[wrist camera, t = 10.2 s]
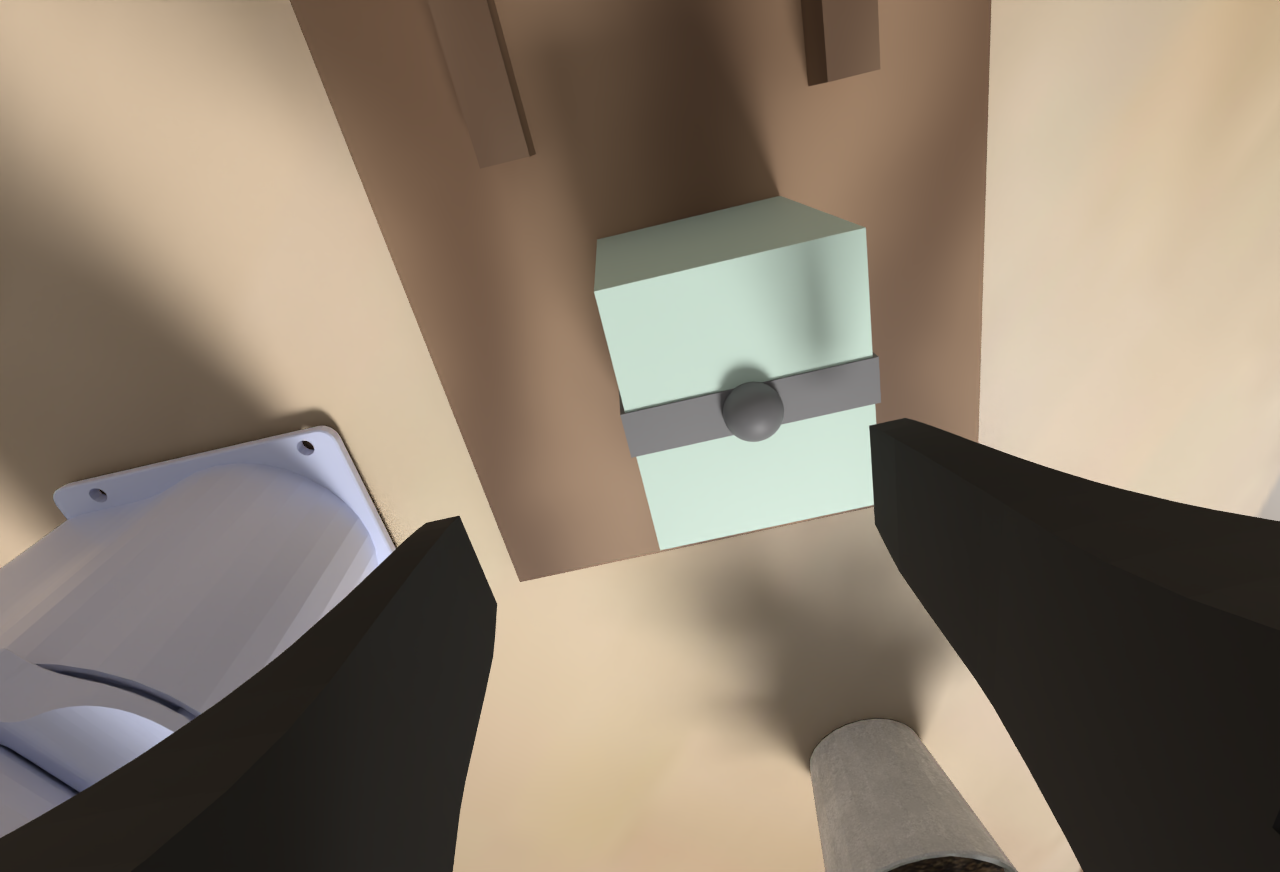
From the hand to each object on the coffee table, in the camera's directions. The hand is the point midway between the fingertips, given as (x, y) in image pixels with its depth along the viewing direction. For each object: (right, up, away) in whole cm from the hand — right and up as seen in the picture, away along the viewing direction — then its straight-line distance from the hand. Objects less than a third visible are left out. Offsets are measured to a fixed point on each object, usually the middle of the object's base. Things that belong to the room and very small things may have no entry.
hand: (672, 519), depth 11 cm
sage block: (+1, +5, +7) cm, 9 cm away
